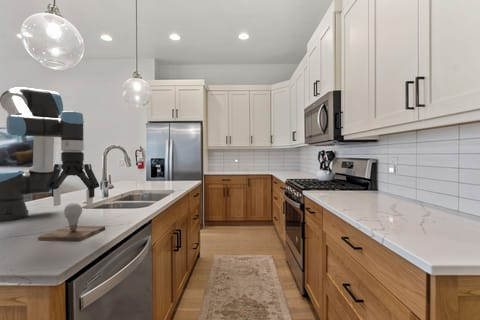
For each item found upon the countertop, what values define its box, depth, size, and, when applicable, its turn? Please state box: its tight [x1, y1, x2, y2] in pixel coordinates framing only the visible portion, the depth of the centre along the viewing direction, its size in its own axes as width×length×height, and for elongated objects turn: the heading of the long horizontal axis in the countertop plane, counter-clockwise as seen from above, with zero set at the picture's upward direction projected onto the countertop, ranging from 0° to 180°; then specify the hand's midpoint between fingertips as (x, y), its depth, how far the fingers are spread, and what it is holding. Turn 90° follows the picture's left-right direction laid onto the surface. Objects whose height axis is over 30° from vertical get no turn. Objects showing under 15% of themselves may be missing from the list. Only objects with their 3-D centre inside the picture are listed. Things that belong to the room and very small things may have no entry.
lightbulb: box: [63, 202, 83, 231], centre depth 107 cm, size 6×6×11 cm
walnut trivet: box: [37, 225, 106, 242], centre depth 108 cm, size 16×16×1 cm
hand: (73, 205), depth 107 cm, fingers open, 13 cm apart
